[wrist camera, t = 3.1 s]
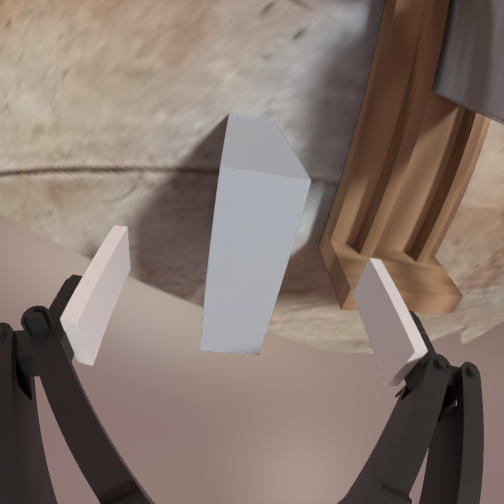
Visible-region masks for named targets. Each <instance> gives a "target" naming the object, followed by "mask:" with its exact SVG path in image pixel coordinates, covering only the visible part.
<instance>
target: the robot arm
mask: <svg viewBox="0 0 504 504" xmlns="http://www.w3.org/2000/svg"><path fill="white" fill-rule="evenodd" d="M130 269H131V267H130V255H129V240H128V227H126V226H117V225H114V226H113V228H112V229H111V231H110V233H109V234H108V236H107V237H106V239H105V240H104V242H103V244H102V245H101V247H100V248H99V250H98V252H97V253H96V255H95V257H94V258H93V260H92V262H91V263H90V265H89V267H88V268H87V270H86V272H85V273H84V275H83V276H78V275H72V276H71V277H70V278H68V279H67V280H66V281H65V282H64V284H63V286H62V287H61V289H60V291H59V292H58V294H57V297H56V298H55V299H54V301H53V303H52V304H51V306H50V308H49V310H48V309H47V308H46V307H43V306H33V307H31V308H29V309H27V310H26V311H25V312H24V313H23V315H22V318H21V325H22V327H23V329H24V330H22V331H13V329H12V328H11V326H10V325H9V324H7V323H0V504H57V500H56V497H55V494H54V490H53V487H52V483H51V479H50V475H49V471H48V467H47V463H46V458H45V453H44V448H43V443H42V437H41V432H40V425H39V418H38V411H37V403H36V394H35V393H36V392H35V380H34V376H40V379H41V382H42V385H43V387H44V390H45V393H46V396H47V398H48V401H49V404H50V406H51V409H52V411H53V413H54V416H55V418H56V421H57V423H58V425H59V427H60V430H61V432H62V434H63V436H64V438H65V440H66V442H67V445H68V447H69V449H70V451H71V453H72V454H73V456H74V458H75V460H76V462H77V464H78V466H79V468H80V469H81V471H82V473H83V475H84V476H85V478H86V480H87V482H88V483H89V485H90V487H91V488H92V490H93V492H94V493H95V495H96V496H97V498H98V500H99V502H100V504H155V503H154V502H153V501H152V499H151V498H150V497H149V496H148V494H147V493H146V492H145V490H144V489H143V487H142V486H141V485H140V483H139V482H138V481H137V479H136V478H135V476H134V475H133V473H132V472H131V471H130V469H129V468H128V466H127V465H126V463H125V462H124V460H123V459H122V457H121V456H120V454H119V452H118V451H117V449H116V447H115V446H114V444H113V443H112V441H111V439H110V438H109V436H108V434H107V433H106V431H105V429H104V427H103V426H102V424H101V422H100V420H99V419H98V416H97V415H96V413H95V411H94V409H93V407H92V405H91V403H90V401H89V399H88V397H87V396H86V393H85V391H84V389H83V387H82V385H81V383H80V381H79V378H78V376H77V374H76V372H75V370H74V367H73V365H72V363H71V361H72V359H73V356H74V355H75V358H76V360H77V362H80V363H84V364H88V365H92V366H93V364H94V361H95V358H96V356H97V353H98V350H99V347H100V344H101V341H102V339H103V336H104V333H105V331H106V328H107V325H108V323H109V320H110V318H111V315H112V312H113V310H114V307H115V305H116V302H117V300H118V297H119V295H120V292H121V290H122V288H123V285H124V283H125V280H126V278H127V276H128V274H129V272H130ZM353 297H354V299H355V302H356V305H357V307H358V310H359V312H360V315H361V318H362V321H363V323H364V326H365V329H366V331H367V334H368V337H369V340H370V343H371V346H372V348H373V351H374V354H375V357H376V360H377V363H378V366H379V369H380V372H381V375H382V378H383V381H384V384H385V386H386V387H388V386H397V385H398V384H400V383H401V382H402V380H403V379H405V382H406V385H405V386H404V387H403V388H402V389H401V390H400V391H399V392H398V393H397V394H396V396H395V397H398V395H400V396H399V398H398V401H397V403H396V405H395V407H394V409H393V412H392V414H391V416H390V418H389V420H388V422H387V424H386V426H385V428H384V430H383V433H382V434H381V436H380V438H379V440H378V442H377V444H376V446H375V448H374V450H373V451H372V453H371V455H370V457H369V459H368V461H367V462H366V464H365V465H364V468H363V469H362V471H361V473H360V474H359V476H358V477H357V479H356V481H355V482H354V484H353V485H352V487H351V488H350V490H349V492H348V493H347V495H346V496H345V497H344V498H343V499H342V500H341V501H340V502H339V503H338V504H412V500H411V499H410V498H409V493H410V491H411V488H412V486H413V484H414V482H415V479H416V477H417V475H418V472H419V470H420V468H421V465H422V463H423V460H424V457H425V455H426V452H427V449H428V447H429V450H428V458H427V464H426V471H425V476H424V482H423V487H422V492H421V498H420V502H419V504H479V503H480V494H481V485H482V472H483V451H484V424H483V402H482V390H481V379H480V373H479V370H478V369H477V367H476V366H475V365H474V364H472V363H471V362H465V363H463V365H462V366H461V367H460V368H459V367H455V366H451V365H450V363H449V362H448V360H447V359H446V358H445V357H444V356H442V355H440V354H436V352H435V350H434V348H433V346H432V344H431V342H430V340H429V338H428V336H427V334H426V333H425V330H424V328H423V327H422V324H421V322H420V320H419V318H418V317H417V316H416V314H415V313H414V312H413V311H408V309H407V307H406V305H405V303H404V301H403V299H402V297H401V295H400V294H399V292H398V290H397V288H396V286H395V284H394V282H393V281H392V279H391V277H390V275H389V273H388V272H387V270H386V268H385V266H384V264H383V263H382V261H381V259H374V258H369V260H368V262H367V265H366V267H365V269H364V271H363V273H362V275H361V277H360V280H359V282H358V284H357V286H356V288H355V290H354V292H353ZM456 401H457V406H456Z"/></svg>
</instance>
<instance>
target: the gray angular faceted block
mask: <svg viewBox="0 0 504 504" xmlns="http://www.w3.org/2000/svg"><path fill="white" fill-rule="evenodd" d="M310 184H311V179H310V178H309V176H308V174H307V172H306V171H305V169H304V167H303V165H302V164H301V162H300V160H299V158H298V157H297V155H296V153H295V152H294V150H293V148H292V147H291V145H290V143H289V142H288V140H287V138H286V137H285V135H284V133H283V132H282V130H281V128H280V127H279V125H278V124H277V122H276V121H273V120H267V119H261V118H255V117H248V116H241V115H234V114H229V117H228V122H227V128H226V134H225V140H224V146H223V152H222V158H221V164H220V171H219V178H218V186H217V193H216V201H215V209H214V217H213V225H212V233H211V242H210V251H209V260H208V269H207V279H206V289H205V299H204V310H203V321H202V332H201V345H200V350H206V351H215V352H228V353H239V354H254V355H259V352H260V349H261V346H262V343H263V340H264V337H265V334H266V331H267V328H268V325H269V322H270V319H271V316H272V312H273V309H274V306H275V303H276V300H277V297H278V293H279V290H280V287H281V284H282V280H283V277H284V274H285V271H286V267H287V264H288V261H289V257H290V254H291V251H292V247H293V244H294V241H295V237H296V234H297V230H298V227H299V223H300V220H301V216H302V213H303V209H304V206H305V202H306V199H307V195H308V192H309V188H310Z"/></svg>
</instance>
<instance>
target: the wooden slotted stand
mask: <svg viewBox="0 0 504 504" xmlns="http://www.w3.org/2000/svg"><path fill="white" fill-rule="evenodd" d="M491 119H492V120H495V121H497V122H499V123H501V124H503V125H504V0H385V6H384V11H383V16H382V21H381V26H380V31H379V35H378V40H377V45H376V49H375V54H374V58H373V62H372V67H371V71H370V75H369V79H368V83H367V87H366V91H365V95H364V99H363V103H362V107H361V110H360V114H359V118H358V121H357V125H356V129H355V132H354V136H353V139H352V143H351V146H350V150H349V153H348V157H347V160H346V163H345V167H344V170H343V173H342V177H341V180H340V183H339V186H338V190H337V193H336V196H335V199H334V202H333V205H332V208H331V211H330V214H329V217H328V220H327V223H326V226H325V229H324V232H323V235H322V238H321V241H320V244H319V249H320V252H321V255H322V257H323V260H324V263H325V265H326V268H327V271H328V274H329V276H330V279H331V282H332V285H333V288H334V290H335V293H336V296H337V299H338V302H339V305H340V308H341V309H344V310H358V307H357V305H356V302H355V299H354V297H353V292H354V290H355V288H356V286H357V284H358V282H359V280H360V277H361V275H362V273H363V271H364V269H365V267H366V265H367V262H368V260H369V258H374V259H381V261H382V263H383V264H384V266H385V268H386V270H387V272H388V273H389V275H390V277H391V279H392V281H393V282H394V284H395V286H396V288H397V290H398V292H399V294H400V295H401V297H402V299H403V301H404V303H405V305H406V307H407V309H408V311H413V312H430V313H452V312H453V311H454V310H455V308H456V307H457V305H458V304H459V302H460V301H461V299H462V298H463V295H462V294H461V292H460V291H459V289H458V288H457V287H456V285H455V284H454V282H453V281H452V279H451V278H450V277H449V275H448V274H447V272H446V271H445V270H444V268H443V267H442V266H441V264H440V263H439V262H438V260H437V259H436V258H435V255H436V253H437V251H438V249H439V247H440V245H441V243H442V241H443V239H444V237H445V235H446V233H447V231H448V229H449V227H450V225H451V223H452V221H453V218H454V216H455V214H456V212H457V210H458V207H459V205H460V203H461V201H462V198H463V196H464V194H465V191H466V189H467V186H468V184H469V181H470V179H471V176H472V174H473V171H474V169H475V166H476V163H477V160H478V158H479V155H480V152H481V149H482V146H483V143H484V140H485V137H486V134H487V131H488V127H489V124H490V121H491Z"/></svg>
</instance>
